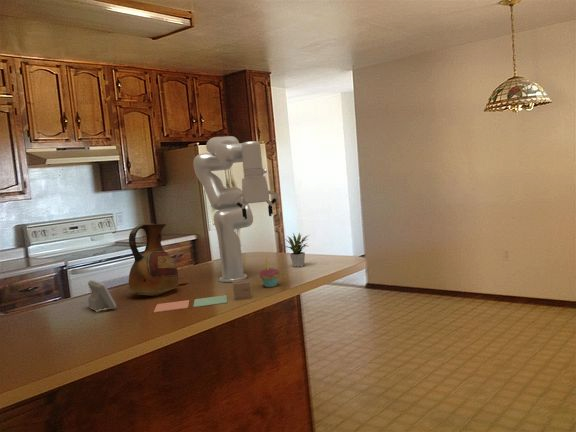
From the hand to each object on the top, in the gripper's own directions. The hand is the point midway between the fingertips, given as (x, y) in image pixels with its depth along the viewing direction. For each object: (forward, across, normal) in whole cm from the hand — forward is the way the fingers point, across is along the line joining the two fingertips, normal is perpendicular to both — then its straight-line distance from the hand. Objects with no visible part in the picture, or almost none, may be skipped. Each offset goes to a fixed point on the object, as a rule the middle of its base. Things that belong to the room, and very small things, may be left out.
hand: (258, 217), depth 203 cm
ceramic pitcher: (+29, +44, -18) cm, 56 cm away
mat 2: (+28, +22, +10) cm, 37 cm away
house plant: (+28, -21, -39) cm, 53 cm away
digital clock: (+29, +62, -3) cm, 69 cm away
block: (+28, +10, +10) cm, 32 cm away
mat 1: (+28, +36, +10) cm, 47 cm away
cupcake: (+28, -2, -4) cm, 29 cm away
